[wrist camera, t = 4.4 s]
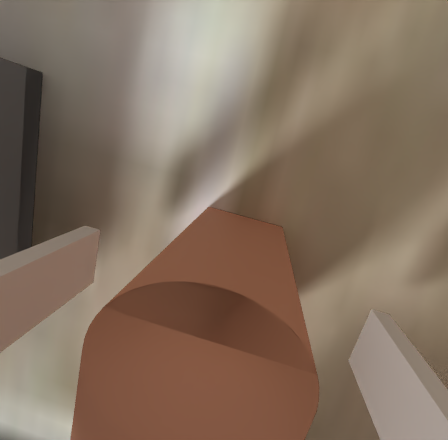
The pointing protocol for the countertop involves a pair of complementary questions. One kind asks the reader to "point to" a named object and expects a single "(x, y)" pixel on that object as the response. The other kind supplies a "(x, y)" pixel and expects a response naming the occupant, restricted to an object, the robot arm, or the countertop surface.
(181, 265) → the wooden peg
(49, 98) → the countertop surface
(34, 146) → the open box
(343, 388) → the countertop surface
